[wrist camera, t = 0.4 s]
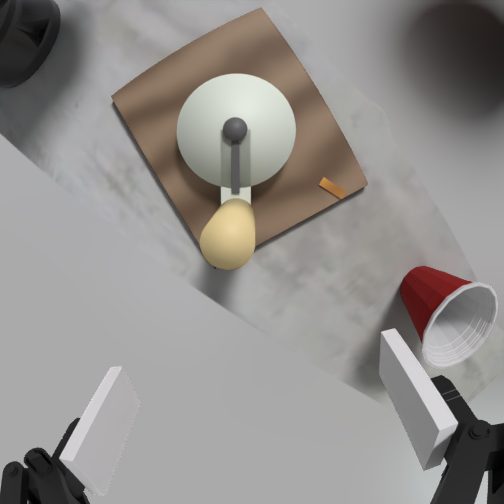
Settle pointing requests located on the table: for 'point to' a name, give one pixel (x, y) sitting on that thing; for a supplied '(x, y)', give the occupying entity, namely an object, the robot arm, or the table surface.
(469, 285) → the plastic cup
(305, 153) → the base plate
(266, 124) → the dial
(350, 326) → the table surface
